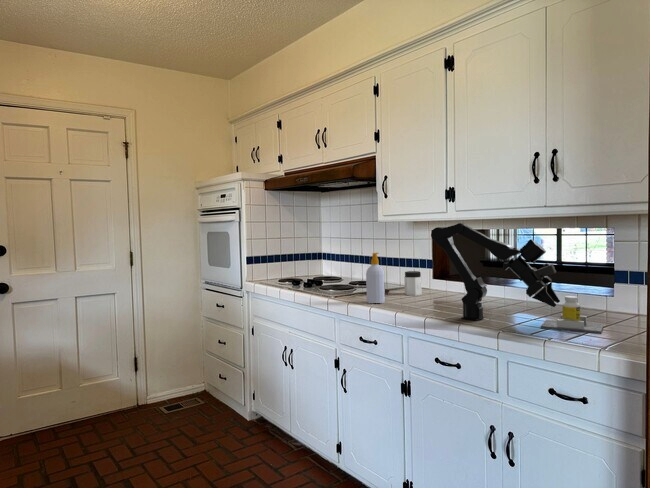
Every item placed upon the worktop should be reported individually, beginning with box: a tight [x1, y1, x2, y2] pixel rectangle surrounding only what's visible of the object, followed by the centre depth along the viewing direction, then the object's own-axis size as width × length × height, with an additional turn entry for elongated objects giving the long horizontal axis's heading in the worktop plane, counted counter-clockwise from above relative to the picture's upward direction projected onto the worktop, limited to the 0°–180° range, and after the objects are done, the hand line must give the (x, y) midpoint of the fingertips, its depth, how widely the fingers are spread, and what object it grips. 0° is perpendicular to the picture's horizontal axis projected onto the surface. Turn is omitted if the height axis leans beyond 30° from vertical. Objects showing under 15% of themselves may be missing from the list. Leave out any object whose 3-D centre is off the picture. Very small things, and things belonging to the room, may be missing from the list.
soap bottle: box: [365, 252, 386, 304], centre depth 223 cm, size 9×9×24 cm
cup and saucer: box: [384, 281, 390, 295], centre depth 251 cm, size 12×12×6 cm
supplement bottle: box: [562, 295, 581, 321], centre depth 161 cm, size 5×5×10 cm
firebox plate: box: [540, 313, 604, 335], centre depth 161 cm, size 18×12×3 cm, turn 56°
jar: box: [404, 270, 423, 297], centre depth 245 cm, size 9×8×12 cm
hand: (557, 304), depth 164 cm, fingers open, 9 cm apart
